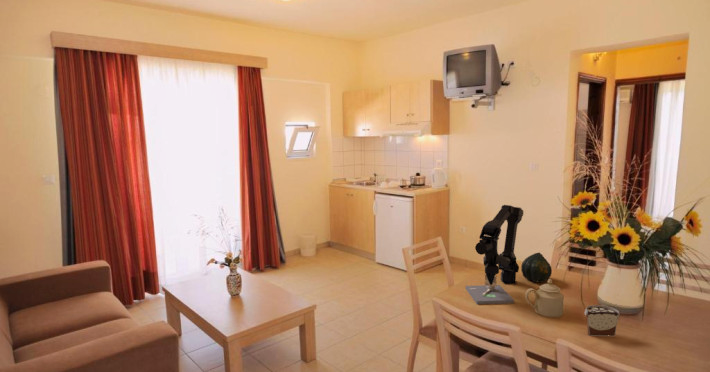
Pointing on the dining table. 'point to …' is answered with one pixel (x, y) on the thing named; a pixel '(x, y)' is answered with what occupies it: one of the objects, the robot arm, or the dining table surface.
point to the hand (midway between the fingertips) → (490, 281)
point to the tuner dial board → (489, 295)
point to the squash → (536, 268)
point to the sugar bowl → (547, 300)
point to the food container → (601, 320)
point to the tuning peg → (490, 287)
